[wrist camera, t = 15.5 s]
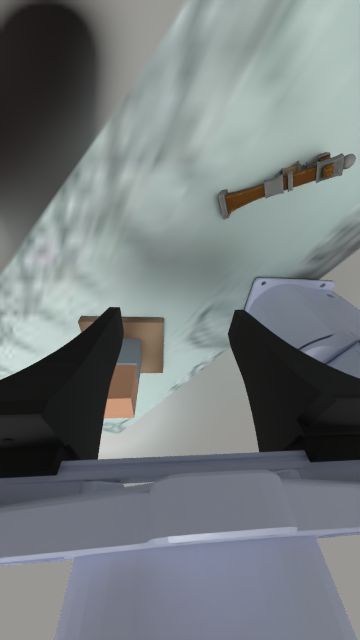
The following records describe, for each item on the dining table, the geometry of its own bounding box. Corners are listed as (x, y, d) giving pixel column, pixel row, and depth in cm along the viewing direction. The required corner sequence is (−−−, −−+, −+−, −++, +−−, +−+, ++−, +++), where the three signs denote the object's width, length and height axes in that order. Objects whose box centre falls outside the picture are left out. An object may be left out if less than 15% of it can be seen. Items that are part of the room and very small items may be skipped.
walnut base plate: (163, 317, 24) (163, 322, 23) (162, 367, 30) (162, 372, 29) (80, 316, 23) (77, 321, 22) (97, 367, 29) (96, 373, 28)
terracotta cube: (136, 365, 21) (130, 398, 18) (138, 385, 24) (134, 417, 21) (99, 364, 21) (87, 398, 18) (105, 385, 23) (96, 418, 20)
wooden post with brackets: (339, 166, 14) (356, 179, 11) (231, 204, 18) (223, 221, 15) (343, 135, 13) (363, 140, 10) (227, 182, 17) (217, 196, 14)
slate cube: (140, 338, 24) (136, 363, 21) (141, 358, 27) (138, 383, 23) (108, 338, 24) (99, 363, 21) (113, 358, 26) (105, 383, 23)
